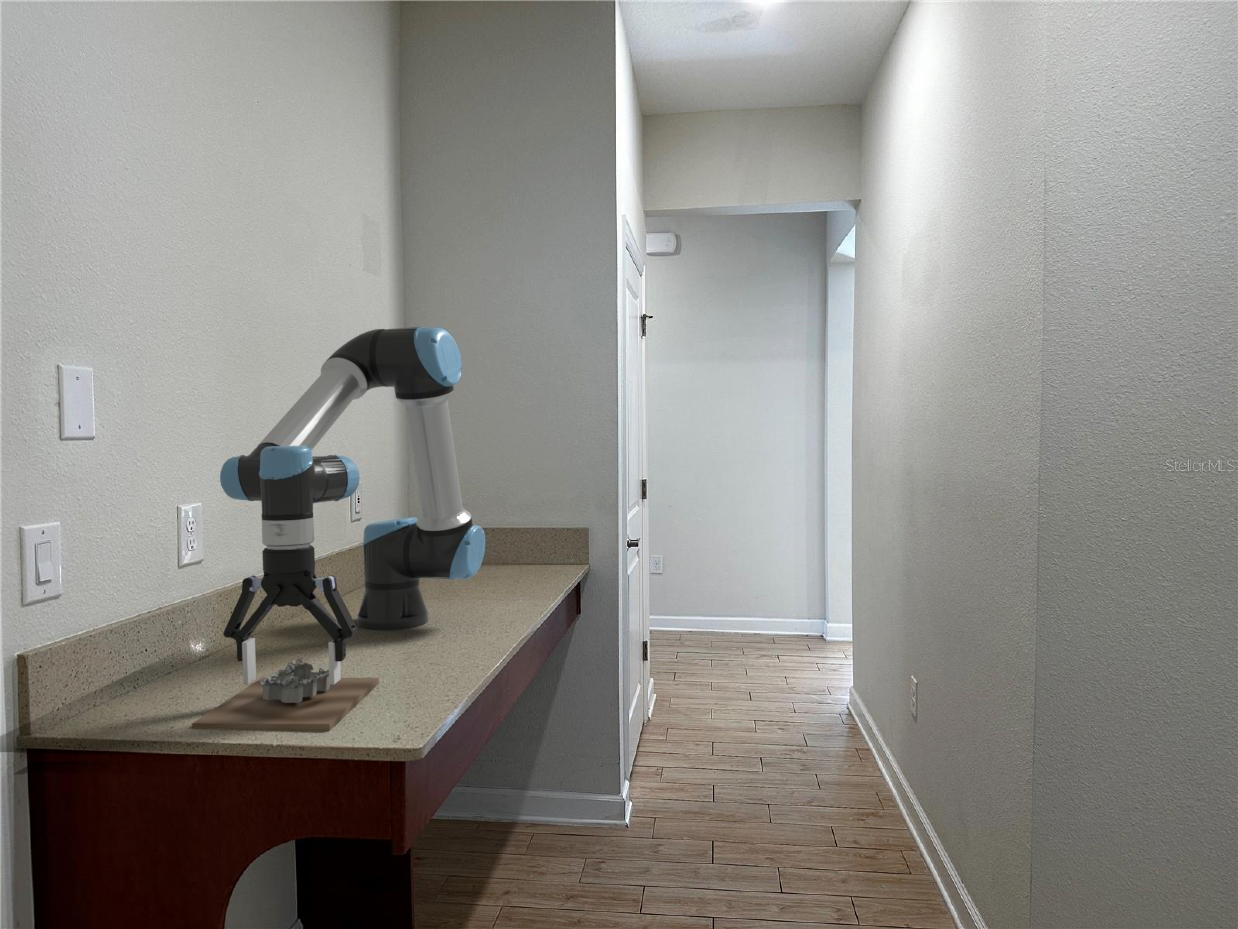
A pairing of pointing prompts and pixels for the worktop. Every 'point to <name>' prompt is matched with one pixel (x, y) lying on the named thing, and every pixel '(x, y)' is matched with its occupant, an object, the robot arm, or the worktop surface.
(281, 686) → the egg carton
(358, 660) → the worktop surface
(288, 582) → the robot arm
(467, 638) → the worktop surface
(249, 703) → the walnut board
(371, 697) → the worktop surface
